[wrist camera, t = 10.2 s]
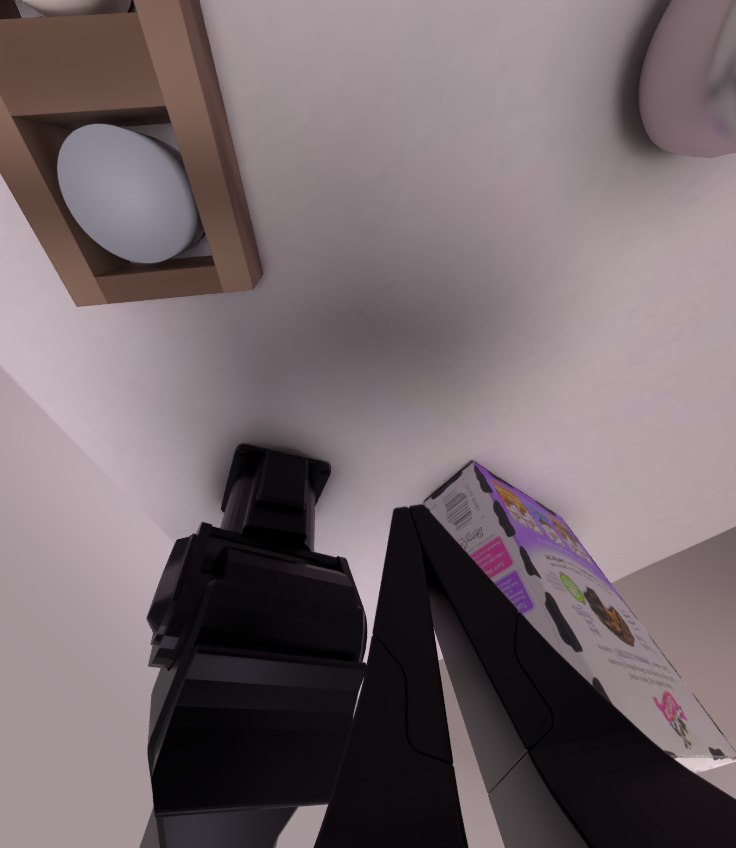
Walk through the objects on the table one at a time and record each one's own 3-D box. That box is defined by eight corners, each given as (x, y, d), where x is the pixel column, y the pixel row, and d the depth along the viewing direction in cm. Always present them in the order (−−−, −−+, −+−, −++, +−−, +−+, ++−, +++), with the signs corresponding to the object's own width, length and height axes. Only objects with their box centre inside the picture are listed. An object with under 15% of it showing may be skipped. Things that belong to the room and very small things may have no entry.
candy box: (419, 502, 27) (513, 801, 14) (473, 457, 25) (646, 763, 12) (516, 551, 33) (646, 792, 20) (566, 518, 31) (750, 765, 18)
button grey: (220, 248, 15) (205, 258, 13) (129, 256, 15) (98, 267, 13) (186, 130, 13) (160, 119, 11) (76, 138, 12) (28, 128, 10)
